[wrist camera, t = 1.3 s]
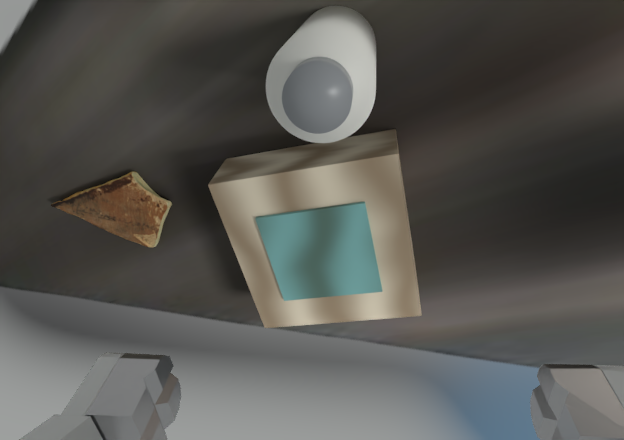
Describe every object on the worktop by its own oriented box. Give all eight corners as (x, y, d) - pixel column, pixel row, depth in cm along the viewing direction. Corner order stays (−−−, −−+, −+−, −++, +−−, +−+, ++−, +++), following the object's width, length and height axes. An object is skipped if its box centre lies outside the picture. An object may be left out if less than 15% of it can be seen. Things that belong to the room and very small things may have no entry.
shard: (59, 198, 44) (48, 207, 43) (69, 135, 40) (57, 143, 39) (159, 243, 46) (152, 253, 44) (179, 187, 42) (171, 196, 40)
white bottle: (369, -4, 31) (364, 24, 20) (382, 81, 34) (384, 144, 23) (287, 16, 32) (243, 52, 21) (307, 96, 35) (276, 162, 24)
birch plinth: (395, 128, 35) (398, 155, 31) (417, 279, 43) (421, 318, 39) (226, 158, 39) (206, 186, 34) (275, 293, 47) (264, 330, 42)
